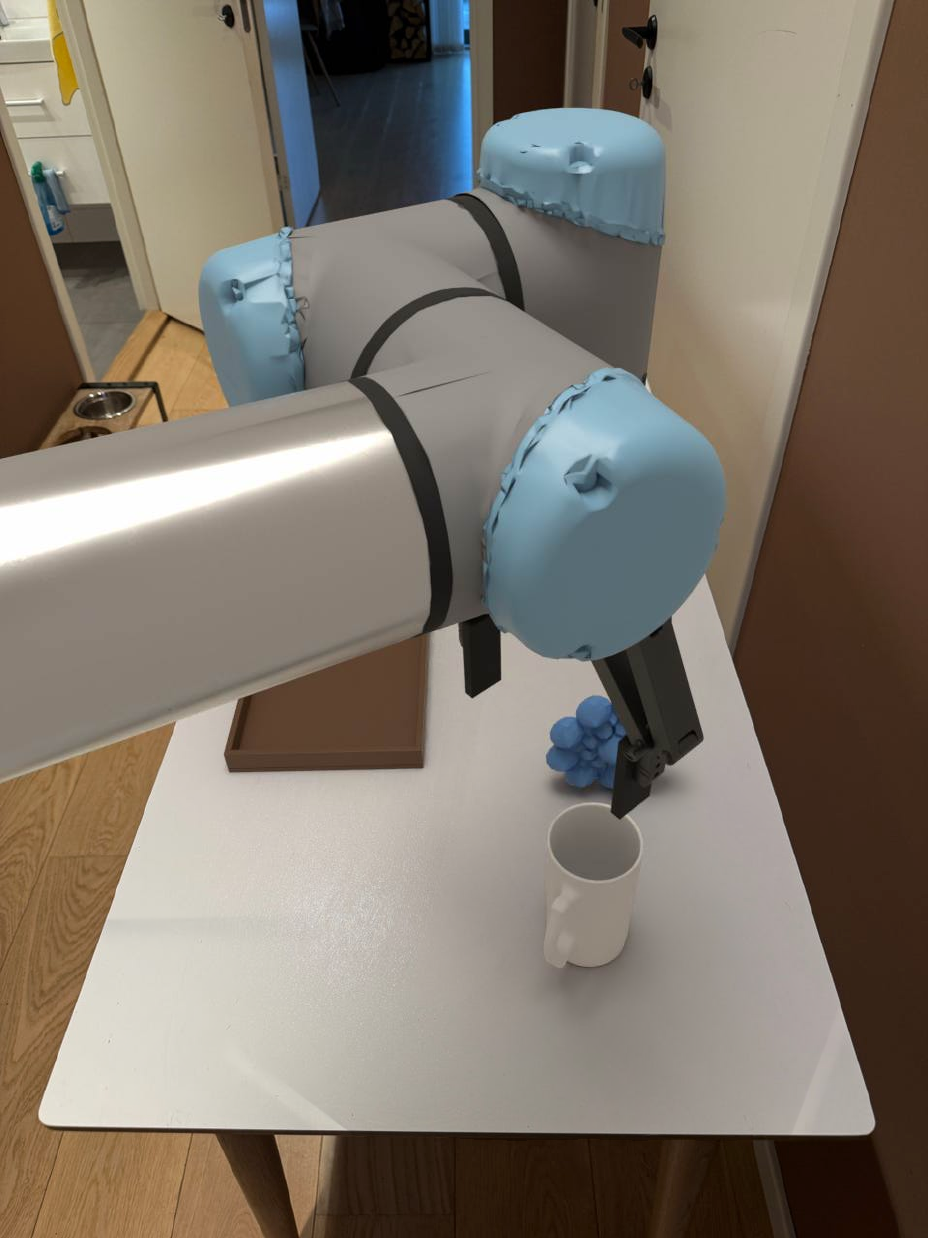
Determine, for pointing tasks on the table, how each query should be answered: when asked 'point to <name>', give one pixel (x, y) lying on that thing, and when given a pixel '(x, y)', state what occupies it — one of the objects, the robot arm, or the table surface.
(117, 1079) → the table surface
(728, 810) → the table surface
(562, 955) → the mug
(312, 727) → the tray
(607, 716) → the blue sphere cluster
